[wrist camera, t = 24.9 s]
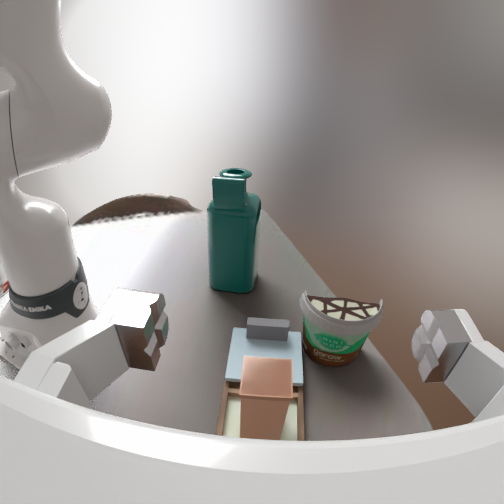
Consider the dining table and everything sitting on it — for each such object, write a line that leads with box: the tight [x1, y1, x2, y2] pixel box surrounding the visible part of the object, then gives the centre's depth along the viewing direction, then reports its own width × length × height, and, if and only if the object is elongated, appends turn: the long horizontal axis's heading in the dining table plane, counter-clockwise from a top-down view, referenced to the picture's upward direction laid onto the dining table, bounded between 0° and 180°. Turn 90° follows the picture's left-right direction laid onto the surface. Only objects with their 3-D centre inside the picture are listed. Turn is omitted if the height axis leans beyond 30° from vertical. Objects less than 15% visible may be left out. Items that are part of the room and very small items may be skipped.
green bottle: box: [207, 168, 261, 293], centre depth 56 cm, size 10×8×22 cm
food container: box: [300, 289, 383, 367], centre depth 43 cm, size 12×6×10 cm, turn 79°
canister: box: [239, 356, 293, 440], centre depth 32 cm, size 5×5×11 cm
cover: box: [225, 317, 303, 386], centre depth 43 cm, size 10×10×4 cm
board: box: [216, 381, 304, 441], centre depth 39 cm, size 10×21×1 cm, turn 176°
